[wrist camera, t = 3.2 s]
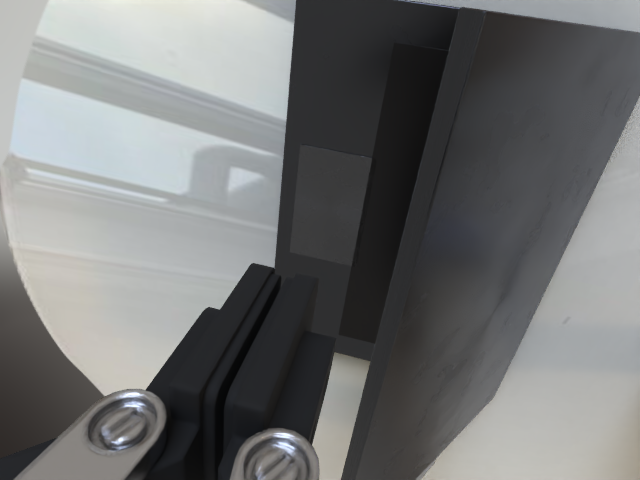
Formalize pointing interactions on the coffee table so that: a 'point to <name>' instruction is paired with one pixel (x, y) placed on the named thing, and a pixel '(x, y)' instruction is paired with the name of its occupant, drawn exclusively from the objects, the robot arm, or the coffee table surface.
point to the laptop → (356, 151)
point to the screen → (487, 223)
